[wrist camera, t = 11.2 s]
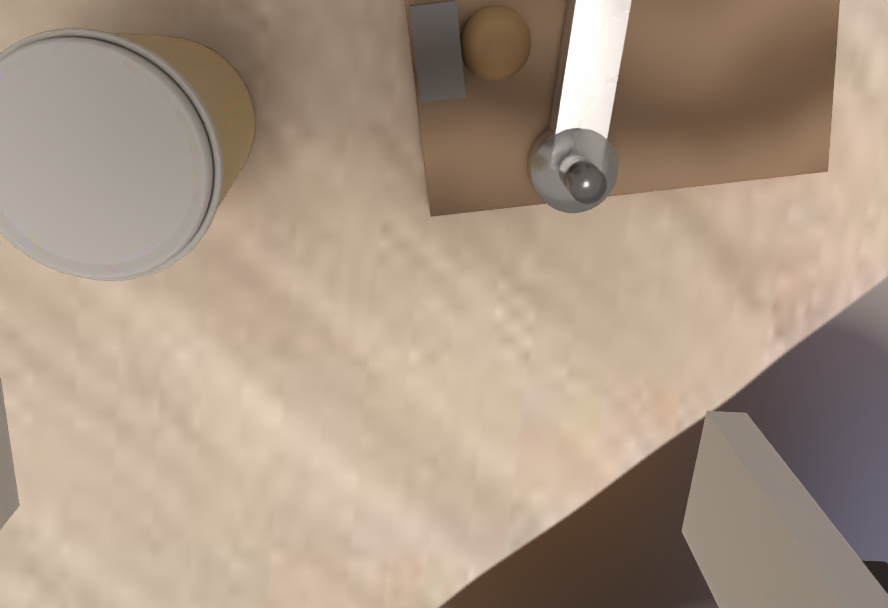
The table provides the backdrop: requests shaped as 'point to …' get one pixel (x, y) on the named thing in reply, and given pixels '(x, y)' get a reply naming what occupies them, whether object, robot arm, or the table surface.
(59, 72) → the coffee cup
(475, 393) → the table surface
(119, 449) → the table surface
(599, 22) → the lever
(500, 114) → the nutcracker board
